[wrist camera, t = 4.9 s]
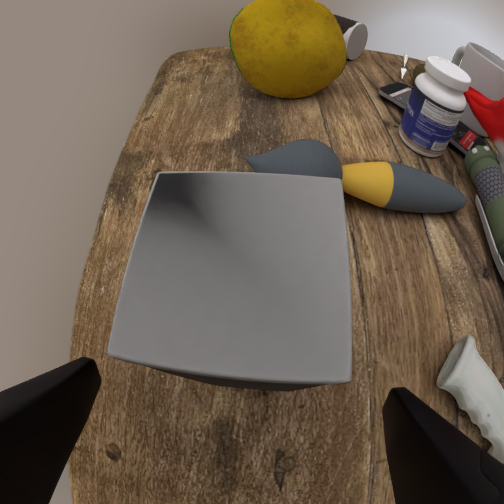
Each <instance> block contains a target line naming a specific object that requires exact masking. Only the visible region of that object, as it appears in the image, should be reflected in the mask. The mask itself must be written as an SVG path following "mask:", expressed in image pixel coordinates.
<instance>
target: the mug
mask: <svg viewBox="0 0 504 504" xmlns="http://www.w3.org/2000/svg"><path fill="white" fill-rule="evenodd" d="M462 57H463V58H462ZM461 59H462V61H461ZM460 61H461V64H460ZM452 63H453V64H455V65H457V66H458V67H459V64H460V68H461V69H462V70H464V71H465V72H466V73H467V74H468V75H469V77H470V78H471V83H470V87H472V88H474V89H475V90H477V91H479V92H480V93H481V94H483V95H484V96H486V97H487V98H489V99H491V100H494V101H495V100H497V101H498V100H501V99H502V98H503V97H504V61H503V60H502V59H501V58H499V57H498V56H496V55H495V54H493V53H492V52H490V51H489V50H487V49H485V48H483V47H481V46H479V45H477V44H475V43H471V42H469V43H468V44H467V47H464V46H462V47H459V48H458V49H457V51H456V53H455V54H454V57H453V60H452ZM460 121H461V122H463V123H464V124H465V125H466V126H468V127H469V128H470V129H471V130H473V131H474V132H475V133H476V134H478V135H480V136H484V137H489V136H488V135H487V133H486V131H485V130H484V129H483V128H482V126H481V125H480V123H479V122H478V121H477V119H476V118H475V116H474V115H473V113H472V111H471V109H470V106H469V104H468V103H467V101H466V107H465V110H464V112H463V114H462V116H461V118H460Z"/></svg>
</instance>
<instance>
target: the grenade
mask: <svg viewBox="0 0 504 504" xmlns="http://www.w3.org/2000/svg"><path fill="white" fill-rule="evenodd" d="M464 163H465V167H466V169H467V171H468V174H469V175H470V176H471V179H472V181H473V184H474V185H475V186H476V189H477V191H478V193H479V196H480V199H481V201H482V204H483V207H484V210H485V213H484V210H483V208H482V205H481V203H480V200H479V198H478V196H477V194H476V198H475V203H476V206H477V209H478V212H479V215H480V218H481V222H482V225H483V228H484V231H485V234H486V238H487V241H488V244H489V247H490V251H491V254H492V257H493V259H494V262H495V265H496V267H497V269H498V271H499V273H500V275H501V277H502V279H503V281H504V264H503V262H504V176H503V174H502V170H501V167H500V165H499V164H498V160H497V158H496V156H495V154H494V152H493V151H492V149H491V148H489V147H488V146H480V145H478V146H475V148H473V149H470V150H469V151H468V153H467V155H466V156H465V160H464Z"/></svg>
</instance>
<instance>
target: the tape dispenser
mask: <svg viewBox="0 0 504 504" xmlns="http://www.w3.org/2000/svg"><path fill="white" fill-rule="evenodd" d="M437 386H438V387H439V388H441V389H444V390H446V391H448V392H450V393H451V394H452V395H453V396H454V397H455V399H456V401H457V403H458V405H459V408H460V409H462V410H464V411H466V412H467V413H468V414H469V416H470V419H471V422H472V423H474V424H476V425H477V426H478V427H479V428H480V430H481V434H482V436H483V437H484V438H486V439H488V440H489V441H490V442H491V443H492V446H491V447H490V449H489V450H488V451H487V452H488V453H489V454H490V455H492V456H493V457H494V458H496V459H497V460H498V461H500V462H501V463H503V464H504V390H503V388H502V386H501V384H500V383H499V381H498V380H497V378H496V377H495V375H494V374H493V372H492V371H491V370H490V368H489V367H488V366H487V364H486V363H485V362H484V360H483V359H482V358H481V356H480V355H479V353H478V351H477V348H476V344H475V339H474V337H473V336H472V335H470V334H468V335H465V336H464V337H462V338H461V339H460V340H459V341H458V342H457V343H456V344H455V345H454V347H453V348H452V350H451V351H450V353H449V355H448V357H447V359H446V361H445V363H444V365H443V367H442V369H441V371H440V373H439V375H438V377H437Z"/></svg>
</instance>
